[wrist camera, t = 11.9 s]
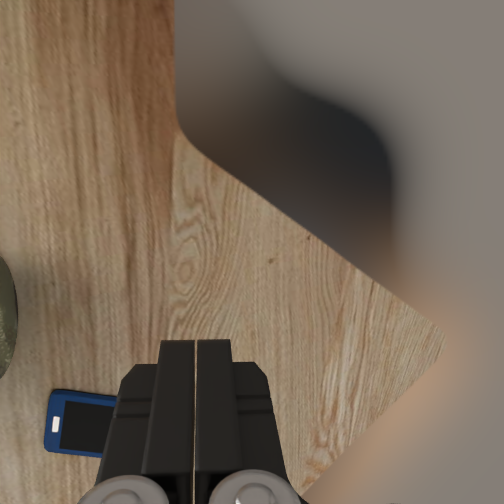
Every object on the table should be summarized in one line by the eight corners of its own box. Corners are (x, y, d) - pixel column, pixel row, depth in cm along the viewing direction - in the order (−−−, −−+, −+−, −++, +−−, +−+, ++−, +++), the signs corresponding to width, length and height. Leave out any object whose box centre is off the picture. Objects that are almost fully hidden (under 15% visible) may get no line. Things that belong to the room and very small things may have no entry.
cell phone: (51, 387, 44) (49, 392, 43) (195, 407, 47) (195, 412, 46) (44, 446, 47) (42, 451, 46) (181, 461, 49) (181, 467, 48)
